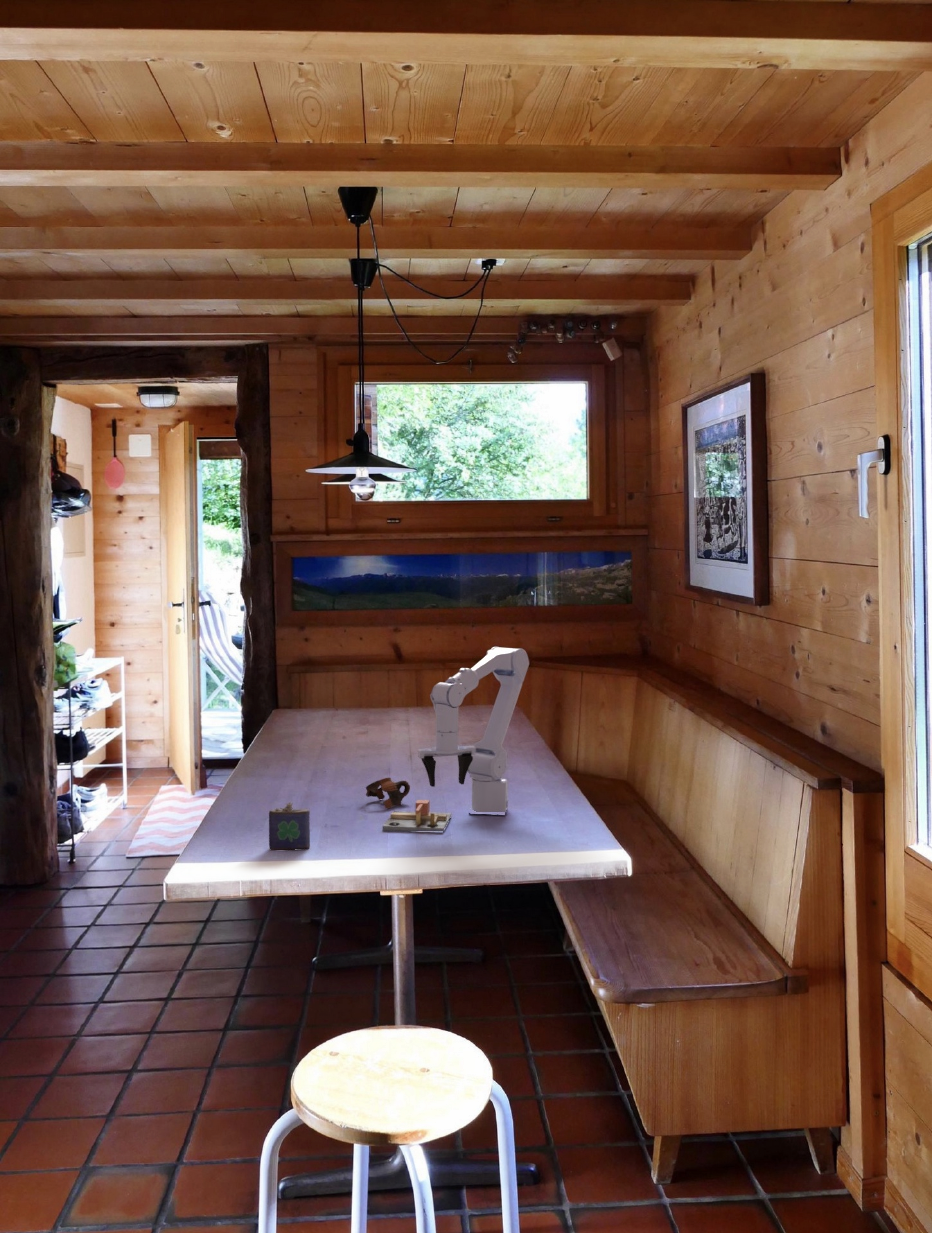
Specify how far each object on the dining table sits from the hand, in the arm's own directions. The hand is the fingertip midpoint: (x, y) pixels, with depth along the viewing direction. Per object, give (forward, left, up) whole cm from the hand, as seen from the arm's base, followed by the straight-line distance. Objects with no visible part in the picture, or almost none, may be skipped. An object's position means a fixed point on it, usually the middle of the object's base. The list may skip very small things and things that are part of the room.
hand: (446, 784), depth 237 cm
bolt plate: (+7, +1, -10) cm, 12 cm away
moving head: (+6, +4, -8) cm, 11 cm away
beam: (+7, +3, -9) cm, 12 cm away
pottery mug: (+19, -17, -10) cm, 27 cm away
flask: (+33, +25, -10) cm, 43 cm away
